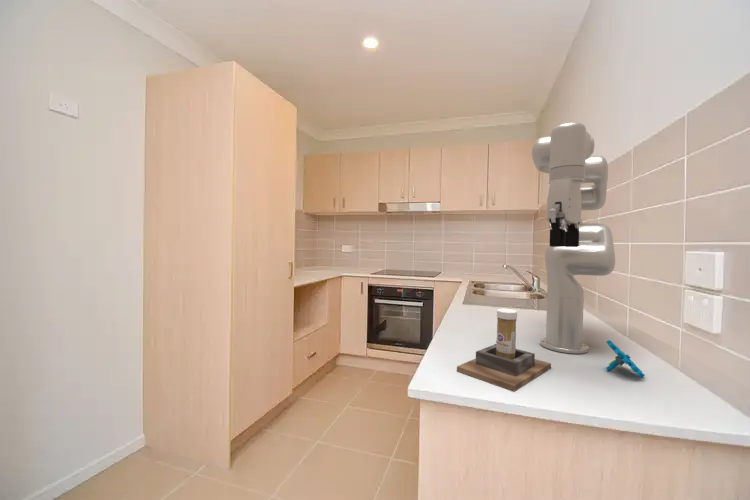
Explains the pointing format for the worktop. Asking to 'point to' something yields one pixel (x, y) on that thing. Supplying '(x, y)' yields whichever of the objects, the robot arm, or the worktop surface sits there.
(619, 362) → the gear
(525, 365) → the caddy
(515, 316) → the sprinkles bottle
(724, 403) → the worktop surface
